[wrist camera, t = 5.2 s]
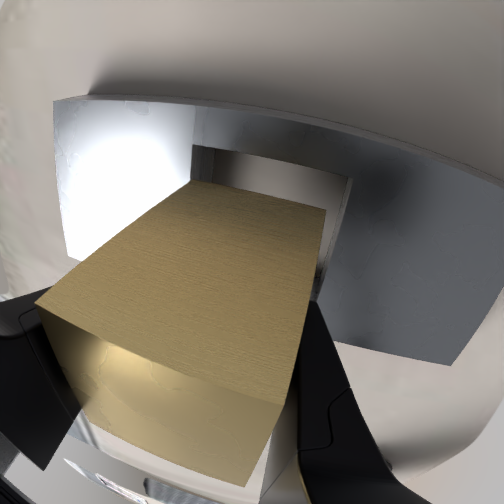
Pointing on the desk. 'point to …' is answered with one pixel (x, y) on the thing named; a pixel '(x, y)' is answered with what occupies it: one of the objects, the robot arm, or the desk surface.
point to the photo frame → (134, 497)
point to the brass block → (190, 325)
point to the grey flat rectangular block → (348, 222)
